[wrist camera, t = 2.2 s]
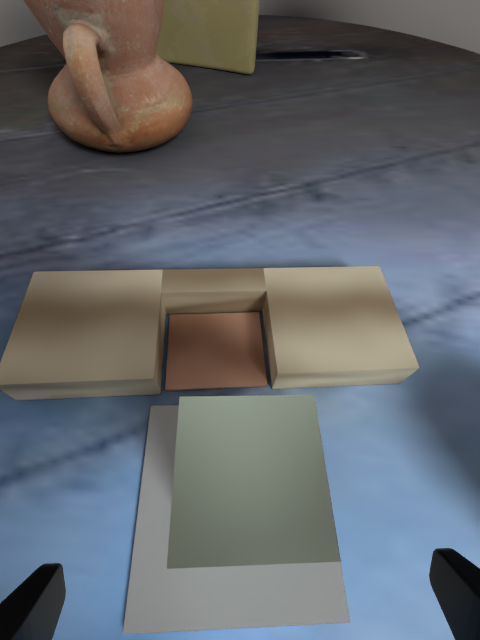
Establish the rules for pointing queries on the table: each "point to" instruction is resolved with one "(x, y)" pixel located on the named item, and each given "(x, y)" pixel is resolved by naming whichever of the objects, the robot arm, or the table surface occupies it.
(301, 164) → the table surface
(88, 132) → the ceramic jug
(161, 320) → the block
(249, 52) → the cheese
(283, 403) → the sage block
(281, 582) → the mat
